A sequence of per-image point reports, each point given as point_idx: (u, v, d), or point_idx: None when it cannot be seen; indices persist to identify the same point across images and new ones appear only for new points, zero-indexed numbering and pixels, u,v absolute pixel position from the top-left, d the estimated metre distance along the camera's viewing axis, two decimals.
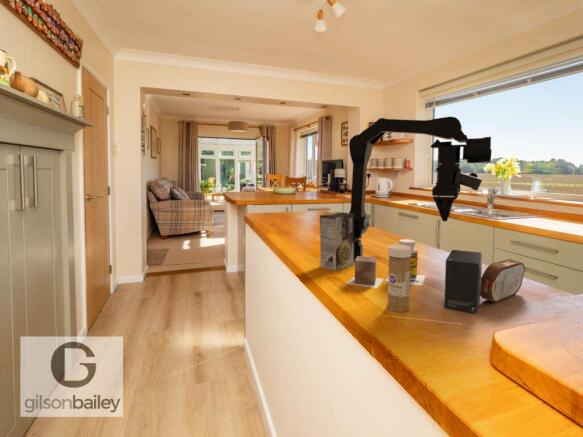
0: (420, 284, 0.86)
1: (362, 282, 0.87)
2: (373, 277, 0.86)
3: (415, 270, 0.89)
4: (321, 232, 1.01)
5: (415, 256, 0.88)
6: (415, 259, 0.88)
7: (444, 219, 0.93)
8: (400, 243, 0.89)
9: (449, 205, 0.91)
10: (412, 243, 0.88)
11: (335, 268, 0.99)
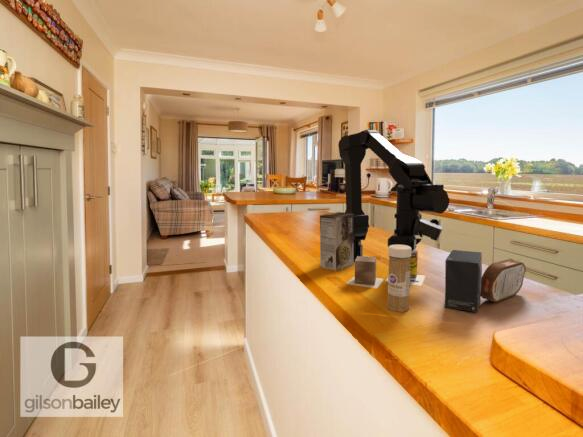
0: (420, 284, 0.86)
1: (362, 282, 0.87)
2: (373, 277, 0.86)
3: (415, 270, 0.89)
4: (321, 232, 1.01)
5: (415, 256, 0.88)
6: (415, 259, 0.88)
7: None
8: None
9: None
10: None
11: (335, 268, 0.99)
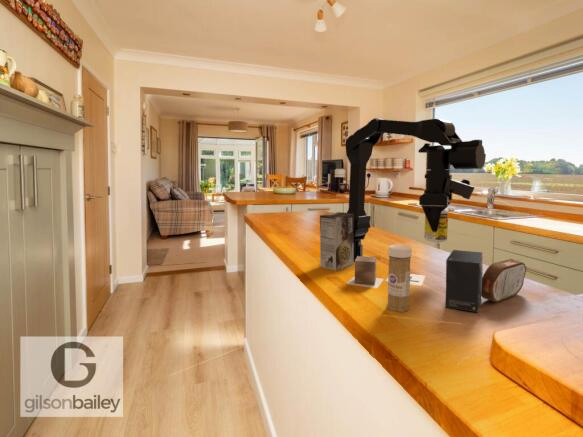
0: (420, 284, 0.86)
1: (362, 282, 0.87)
2: (373, 277, 0.86)
3: (446, 231, 0.87)
4: (321, 232, 1.01)
5: (445, 217, 0.87)
6: (446, 220, 0.87)
7: (434, 229, 0.86)
8: None
9: (439, 214, 0.84)
10: None
11: (335, 268, 0.99)
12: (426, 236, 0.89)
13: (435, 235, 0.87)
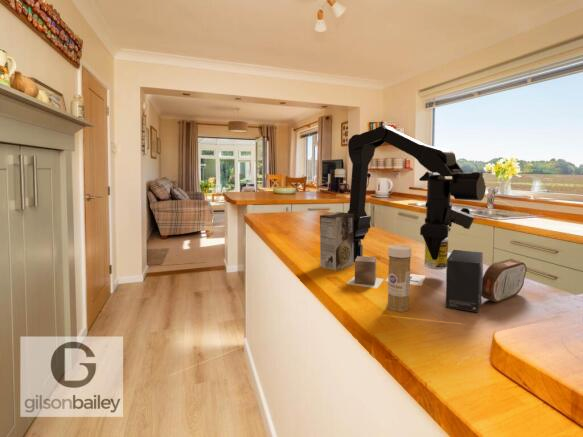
0: (420, 284, 0.86)
1: (362, 282, 0.87)
2: (373, 277, 0.86)
3: (446, 259, 0.89)
4: (321, 232, 1.01)
5: (446, 245, 0.88)
6: (446, 248, 0.88)
7: (434, 257, 0.88)
8: None
9: (439, 243, 0.86)
10: None
11: (335, 268, 0.99)
12: (426, 263, 0.90)
13: (435, 263, 0.88)
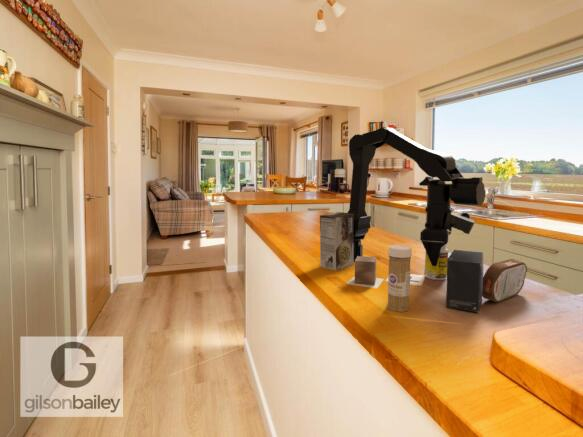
0: (420, 284, 0.86)
1: (362, 282, 0.87)
2: (373, 277, 0.86)
3: (445, 270, 0.89)
4: (321, 232, 1.01)
5: (446, 256, 0.88)
6: (446, 259, 0.88)
7: (433, 264, 0.86)
8: None
9: (439, 250, 0.84)
10: None
11: (335, 268, 0.99)
12: (426, 273, 0.91)
13: (435, 274, 0.89)
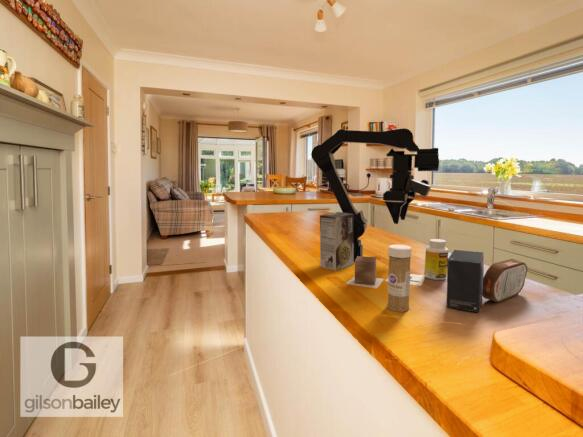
0: (420, 284, 0.86)
1: (362, 282, 0.87)
2: (373, 277, 0.86)
3: (445, 270, 0.89)
4: (321, 232, 1.01)
5: (446, 256, 0.88)
6: (446, 259, 0.88)
7: (395, 222, 1.02)
8: (431, 242, 0.90)
9: (399, 209, 1.00)
10: (443, 243, 0.88)
11: (335, 268, 0.99)
12: (426, 273, 0.91)
13: (435, 274, 0.89)
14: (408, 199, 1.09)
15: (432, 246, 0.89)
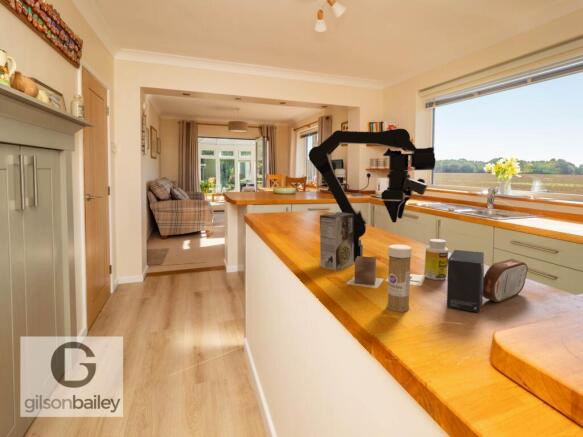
0: (420, 284, 0.86)
1: (362, 282, 0.87)
2: (373, 277, 0.86)
3: (445, 270, 0.89)
4: (321, 232, 1.01)
5: (446, 256, 0.88)
6: (446, 259, 0.88)
7: (393, 220, 1.04)
8: (431, 242, 0.90)
9: (397, 208, 1.01)
10: (443, 243, 0.88)
11: (335, 268, 0.99)
12: (426, 273, 0.91)
13: (435, 274, 0.89)
14: (405, 198, 1.11)
15: (432, 246, 0.89)
